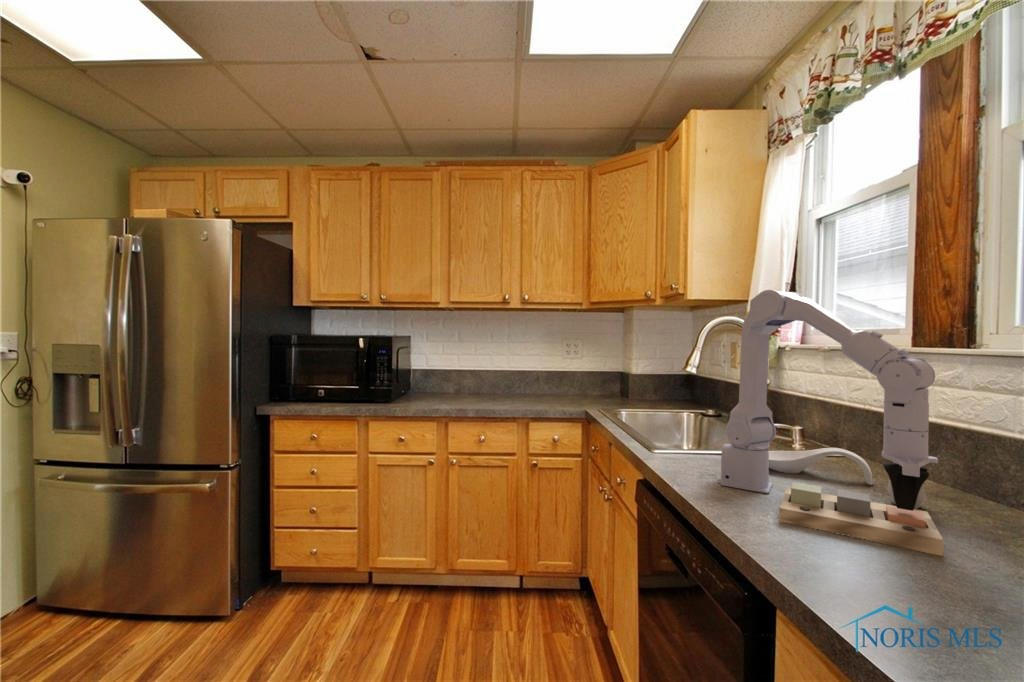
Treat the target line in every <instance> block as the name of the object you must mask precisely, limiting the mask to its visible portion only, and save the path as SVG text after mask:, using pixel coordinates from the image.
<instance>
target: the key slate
mask: <svg viewBox="0 0 1024 682" xmlns="http://www.w3.org/2000/svg"><path fill="white" fill-rule="evenodd" d="M836 496H837V511H838V512H843V513H849V514H854V515H859V516H865V517H870V502H871V498H870V495H869V493H861V492H857V491H856V492H855V491H850V490H845V489H839V488H837V489H836Z"/></svg>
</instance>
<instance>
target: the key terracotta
mask: <svg viewBox="0 0 1024 682" xmlns="http://www.w3.org/2000/svg"><path fill="white" fill-rule="evenodd" d="M886 521H891V522H897V523H902V524H907V525H913V526H918V527H923V528H926V521H925V519H924V517H923V515H922V513H921V512H917V511H911V510H905V509H899V508H894V507H888V506H886Z"/></svg>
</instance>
